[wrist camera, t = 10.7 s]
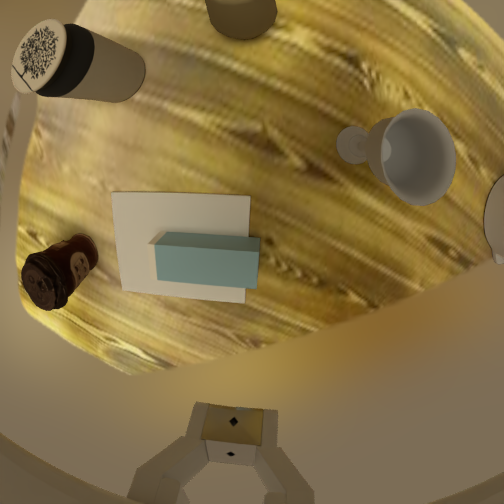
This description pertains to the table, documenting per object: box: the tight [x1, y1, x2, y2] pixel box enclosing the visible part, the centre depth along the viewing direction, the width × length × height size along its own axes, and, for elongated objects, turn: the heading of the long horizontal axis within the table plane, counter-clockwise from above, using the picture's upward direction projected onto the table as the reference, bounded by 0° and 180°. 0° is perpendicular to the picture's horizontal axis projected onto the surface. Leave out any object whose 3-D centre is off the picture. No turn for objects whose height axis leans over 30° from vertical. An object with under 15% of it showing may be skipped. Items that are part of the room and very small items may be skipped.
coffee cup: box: [21, 233, 98, 311], centre depth 36 cm, size 9×8×13 cm
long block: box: [147, 231, 260, 289], centre depth 38 cm, size 5×5×14 cm
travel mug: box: [11, 19, 145, 102], centre depth 23 cm, size 8×8×18 cm
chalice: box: [336, 108, 456, 206], centre depth 26 cm, size 7×7×18 cm
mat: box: [111, 192, 251, 303], centre depth 41 cm, size 20×16×1 cm
